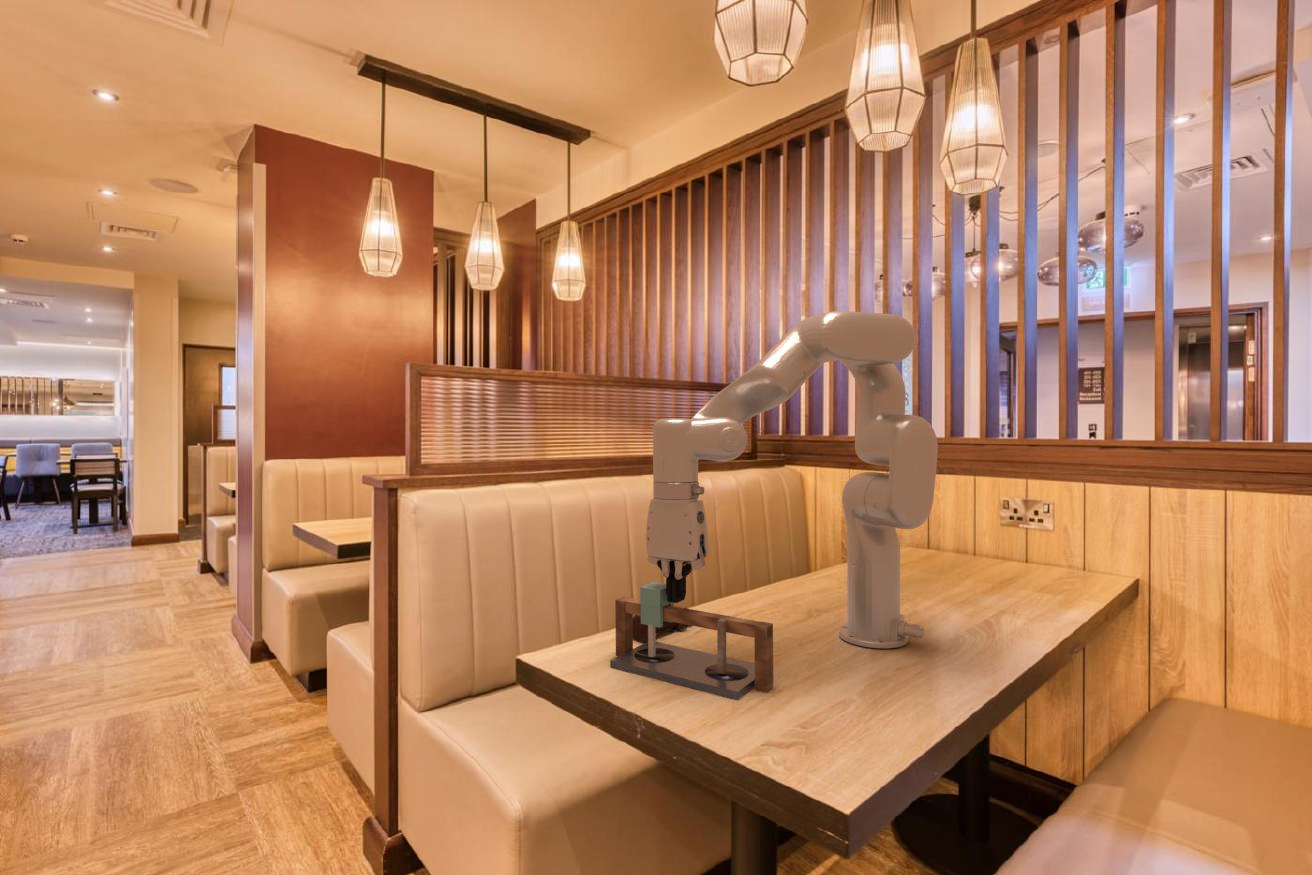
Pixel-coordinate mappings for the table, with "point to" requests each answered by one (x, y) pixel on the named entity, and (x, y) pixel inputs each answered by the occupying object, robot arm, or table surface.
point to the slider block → (653, 611)
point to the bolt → (642, 630)
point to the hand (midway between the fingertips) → (676, 600)
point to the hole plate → (689, 669)
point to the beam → (710, 621)
